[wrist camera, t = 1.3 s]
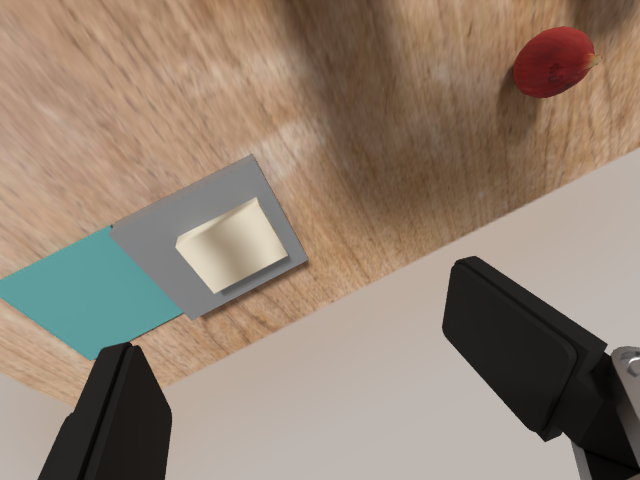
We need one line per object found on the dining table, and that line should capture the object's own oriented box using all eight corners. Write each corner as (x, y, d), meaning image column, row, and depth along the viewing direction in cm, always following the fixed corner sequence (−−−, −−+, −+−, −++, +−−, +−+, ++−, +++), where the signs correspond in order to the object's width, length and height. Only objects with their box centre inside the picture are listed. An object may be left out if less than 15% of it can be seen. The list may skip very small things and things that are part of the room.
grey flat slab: (252, 153, 29) (255, 160, 27) (302, 248, 36) (308, 259, 33) (116, 222, 28) (108, 234, 26) (193, 305, 35) (191, 320, 33)
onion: (524, 99, 35) (598, 107, 28) (485, 88, 33) (555, 94, 26) (551, 39, 32) (639, 32, 25) (511, 23, 30) (595, 11, 24)
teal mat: (111, 224, 28) (109, 226, 28) (189, 307, 35) (188, 309, 35) (-11, 285, 28) (-14, 288, 28) (91, 358, 34) (90, 360, 34)
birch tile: (256, 197, 28) (258, 205, 27) (284, 245, 32) (288, 255, 30) (177, 236, 28) (175, 247, 26) (214, 281, 31) (214, 293, 30)
